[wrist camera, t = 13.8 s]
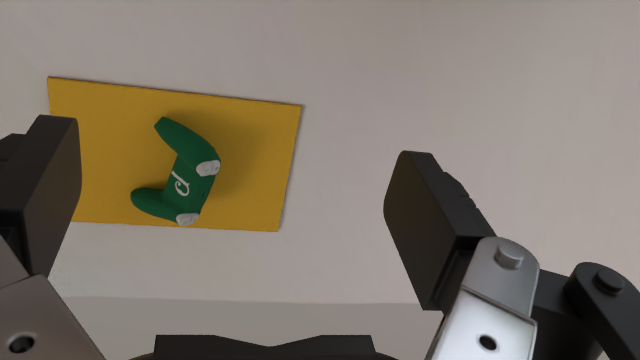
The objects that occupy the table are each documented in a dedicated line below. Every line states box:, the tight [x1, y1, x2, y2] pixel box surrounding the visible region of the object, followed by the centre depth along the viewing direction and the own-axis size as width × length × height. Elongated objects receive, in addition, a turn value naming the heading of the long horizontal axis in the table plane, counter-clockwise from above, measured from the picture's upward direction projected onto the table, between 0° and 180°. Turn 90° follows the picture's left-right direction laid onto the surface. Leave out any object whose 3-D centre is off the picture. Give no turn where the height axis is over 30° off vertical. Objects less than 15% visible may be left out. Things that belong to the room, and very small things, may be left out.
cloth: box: [47, 77, 302, 232], centre depth 44 cm, size 20×14×1 cm
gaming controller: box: [130, 116, 221, 226], centre depth 43 cm, size 9×4×6 cm
